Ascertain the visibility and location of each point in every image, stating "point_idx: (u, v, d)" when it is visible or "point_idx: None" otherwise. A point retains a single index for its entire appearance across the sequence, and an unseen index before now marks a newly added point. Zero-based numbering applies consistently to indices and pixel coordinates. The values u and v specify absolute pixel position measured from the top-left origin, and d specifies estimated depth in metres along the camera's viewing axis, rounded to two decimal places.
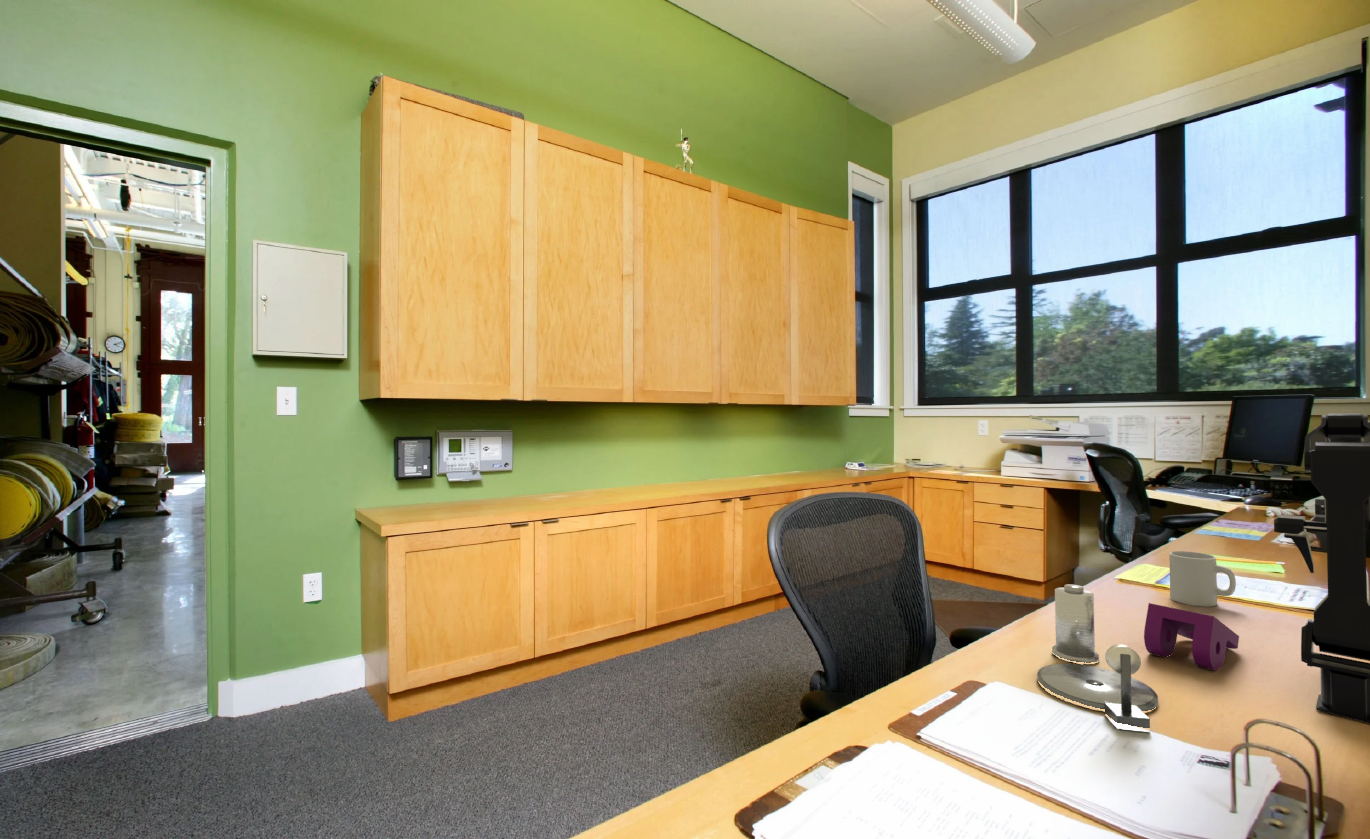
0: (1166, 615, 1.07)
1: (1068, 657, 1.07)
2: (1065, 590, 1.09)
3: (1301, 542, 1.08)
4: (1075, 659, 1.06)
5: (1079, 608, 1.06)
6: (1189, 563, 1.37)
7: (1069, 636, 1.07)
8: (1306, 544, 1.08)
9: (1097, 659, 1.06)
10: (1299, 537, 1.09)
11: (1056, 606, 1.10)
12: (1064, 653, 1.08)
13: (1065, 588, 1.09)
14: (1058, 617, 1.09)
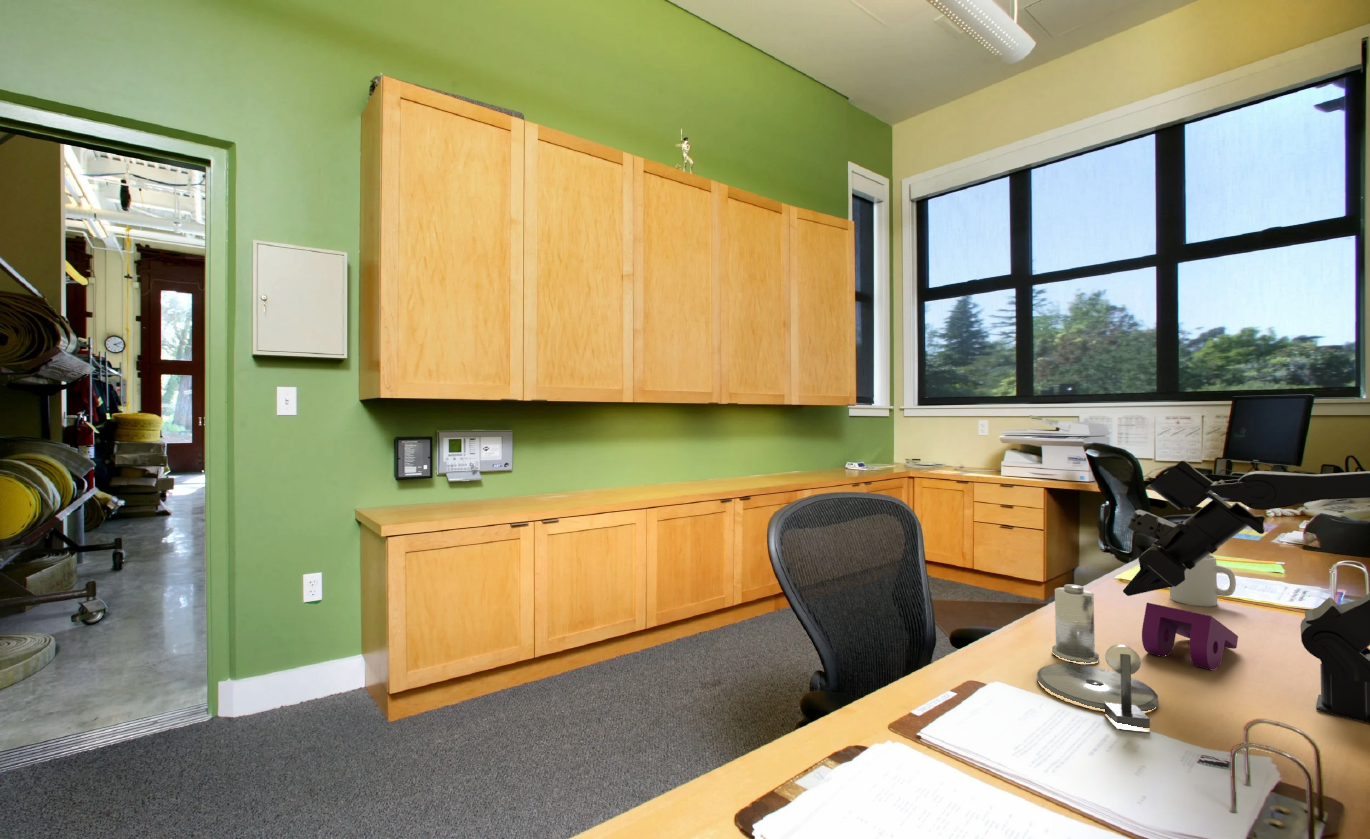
0: (1164, 614, 1.07)
1: (1068, 657, 1.07)
2: (1065, 590, 1.09)
3: None
4: (1075, 659, 1.06)
5: (1079, 608, 1.06)
6: None
7: (1069, 636, 1.07)
8: None
9: (1097, 659, 1.06)
10: None
11: (1056, 606, 1.10)
12: (1064, 653, 1.08)
13: (1065, 588, 1.09)
14: (1058, 617, 1.09)
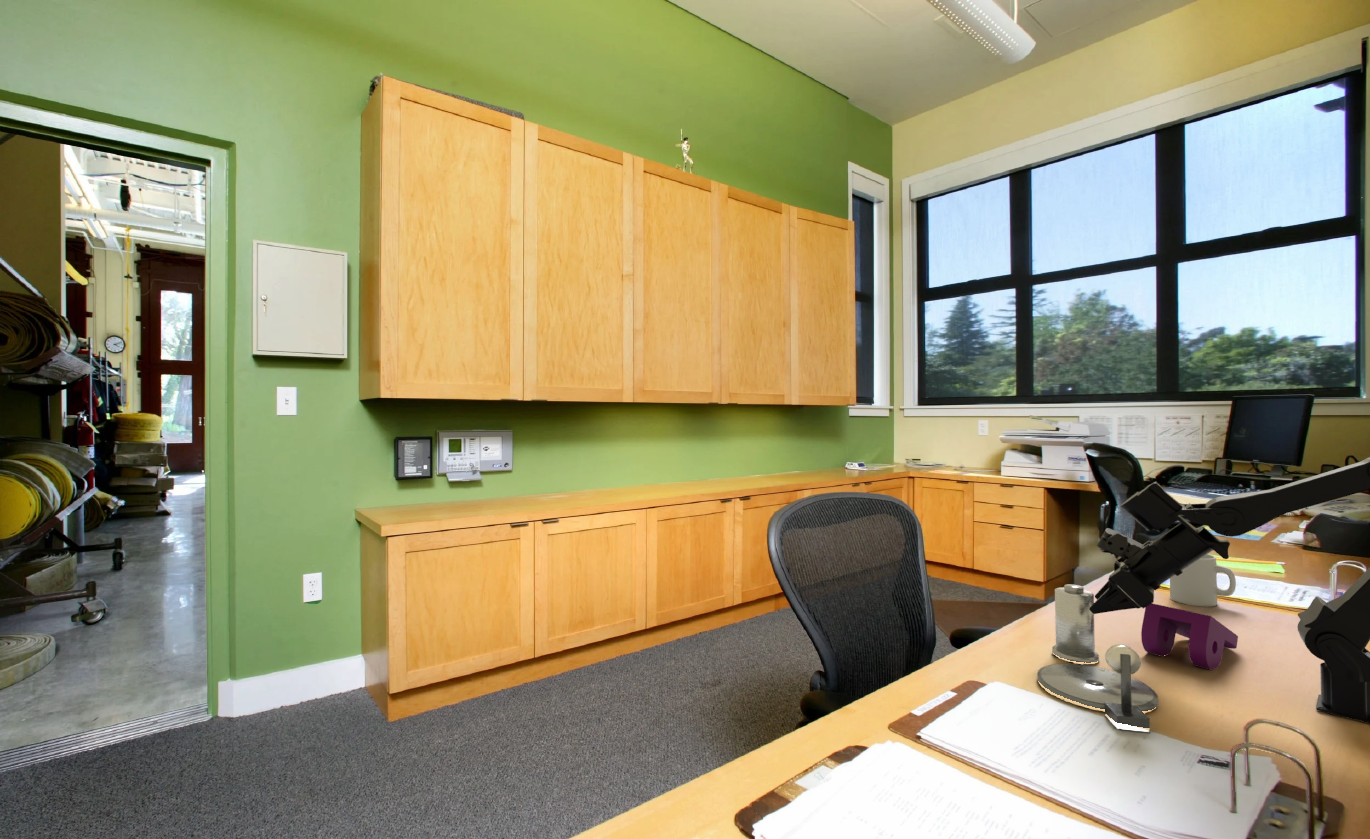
0: (1164, 614, 1.08)
1: (1068, 657, 1.07)
2: (1065, 590, 1.09)
3: None
4: (1075, 659, 1.06)
5: (1079, 608, 1.06)
6: None
7: (1069, 636, 1.07)
8: None
9: (1097, 659, 1.06)
10: None
11: (1056, 606, 1.10)
12: (1064, 653, 1.08)
13: (1065, 588, 1.09)
14: (1058, 617, 1.09)
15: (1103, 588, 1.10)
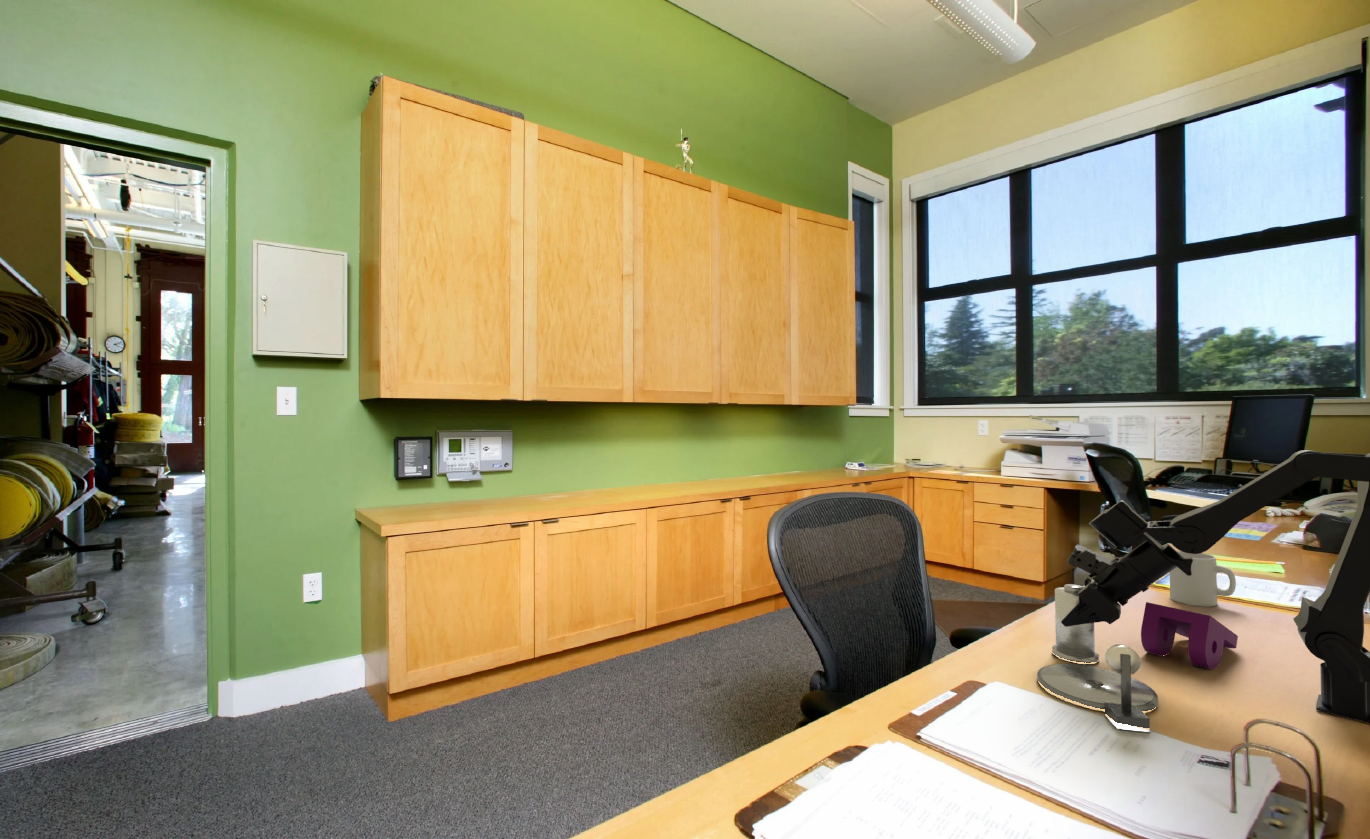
0: (1163, 614, 1.08)
1: (1068, 657, 1.07)
2: (1065, 590, 1.09)
3: None
4: (1075, 659, 1.06)
5: None
6: None
7: (1069, 636, 1.07)
8: None
9: (1097, 659, 1.06)
10: None
11: (1056, 606, 1.10)
12: (1064, 653, 1.08)
13: (1065, 588, 1.09)
14: (1058, 617, 1.09)
15: None
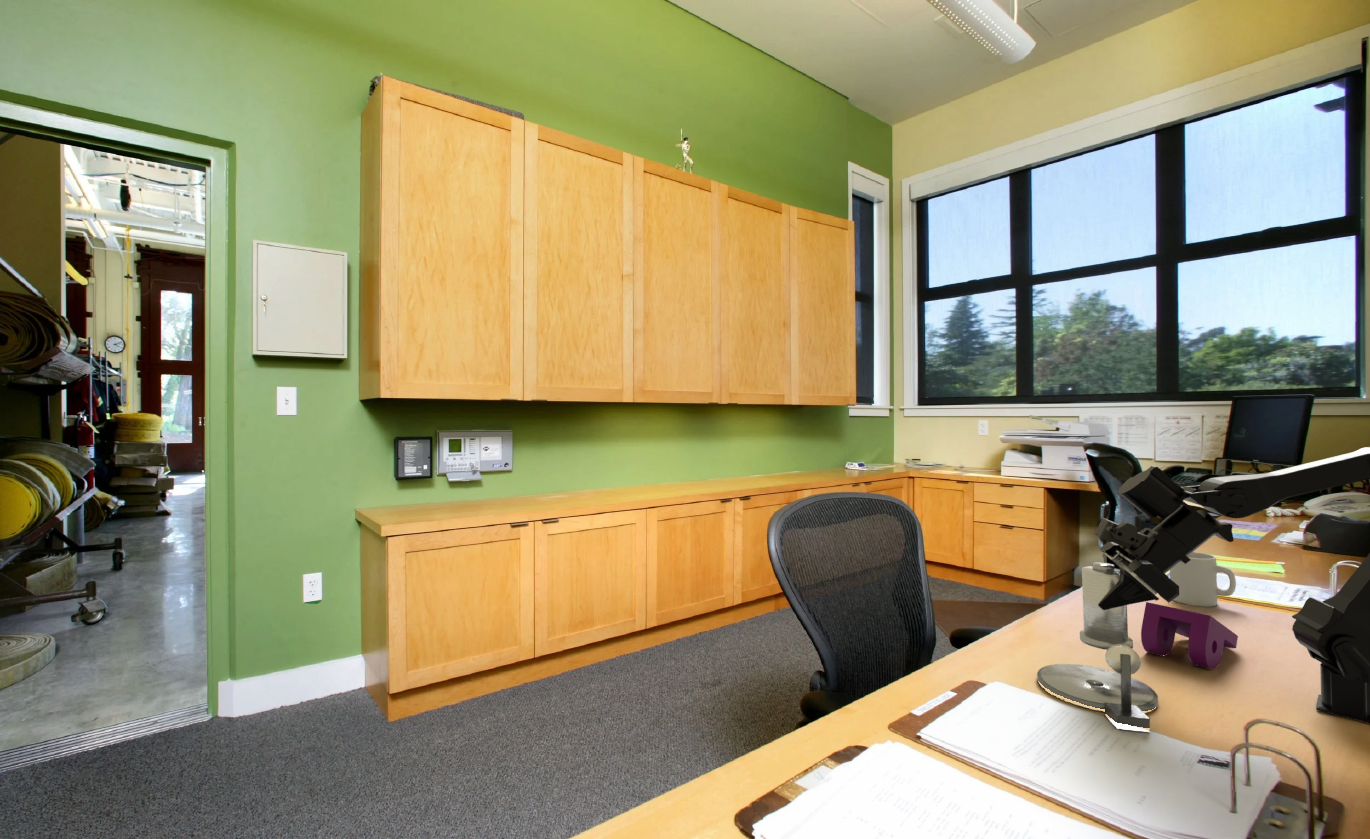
0: (1163, 613, 1.08)
1: (1107, 644, 0.95)
2: (1096, 569, 0.98)
3: None
4: None
5: None
6: (1189, 563, 1.37)
7: (1107, 620, 0.96)
8: None
9: (1132, 642, 0.96)
10: None
11: (1087, 588, 0.98)
12: (1100, 640, 0.97)
13: (1096, 567, 0.98)
14: (1090, 600, 0.98)
15: None
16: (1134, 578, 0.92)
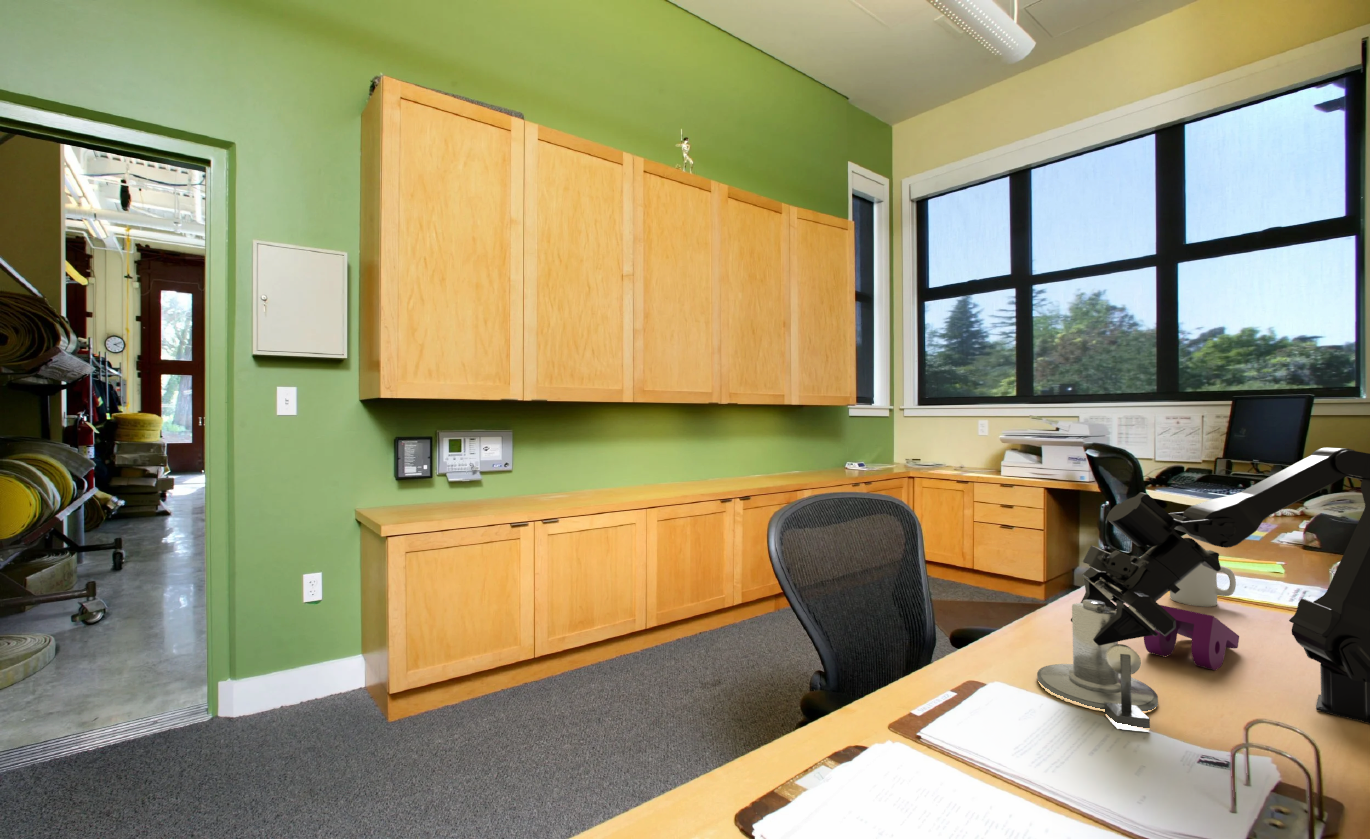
0: None
1: (1101, 686, 0.92)
2: (1087, 608, 0.95)
3: None
4: (1108, 687, 0.92)
5: None
6: None
7: (1100, 661, 0.93)
8: None
9: None
10: None
11: (1079, 627, 0.95)
12: (1093, 681, 0.93)
13: (1087, 605, 0.95)
14: (1082, 640, 0.94)
15: None
16: (1134, 613, 0.87)
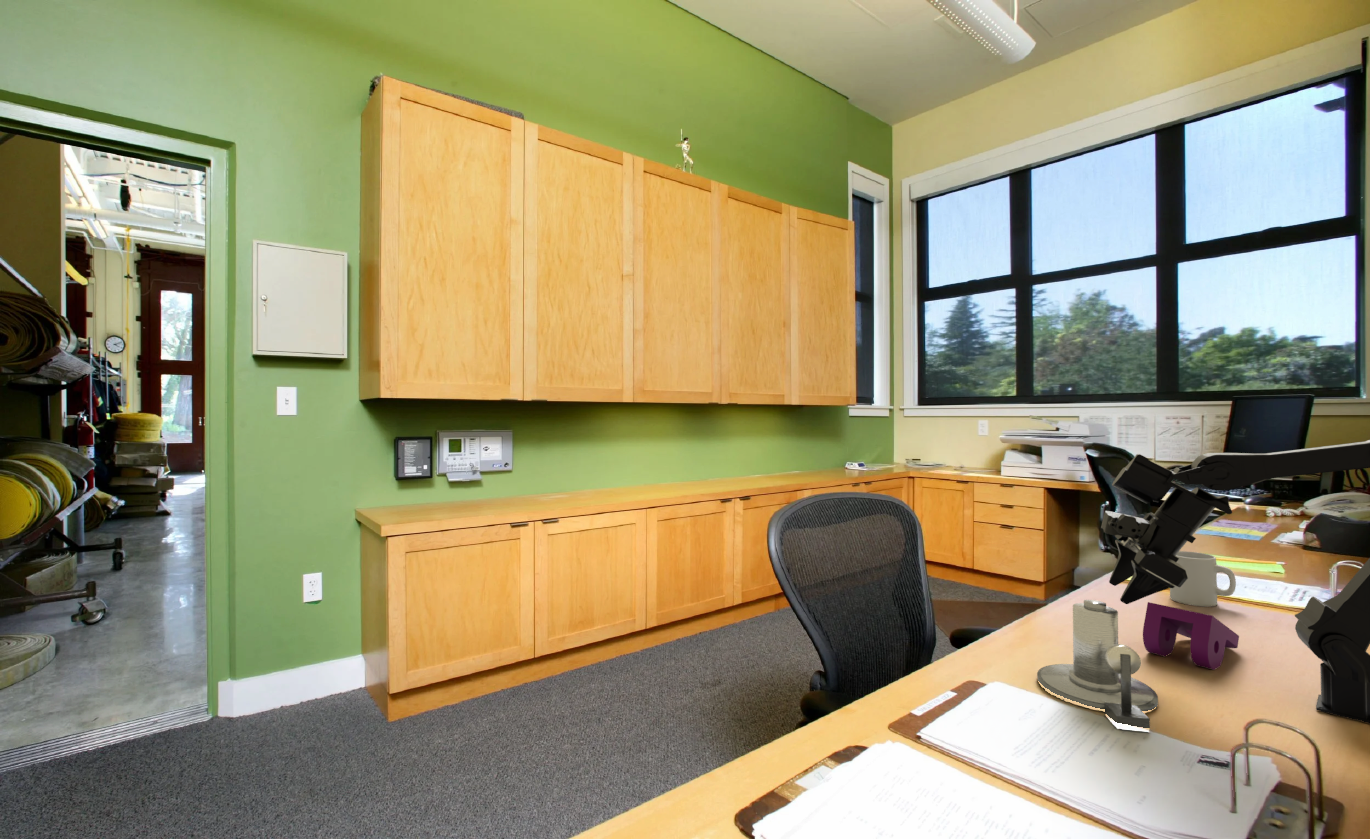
0: (1165, 614, 1.08)
1: (1101, 686, 0.92)
2: (1088, 608, 0.95)
3: None
4: (1108, 688, 0.92)
5: (1110, 628, 0.93)
6: (1189, 563, 1.37)
7: (1100, 662, 0.93)
8: None
9: None
10: None
11: (1080, 627, 0.95)
12: (1093, 681, 0.93)
13: (1088, 605, 0.95)
14: (1083, 640, 0.94)
15: (1115, 572, 1.06)
16: (1145, 571, 0.94)
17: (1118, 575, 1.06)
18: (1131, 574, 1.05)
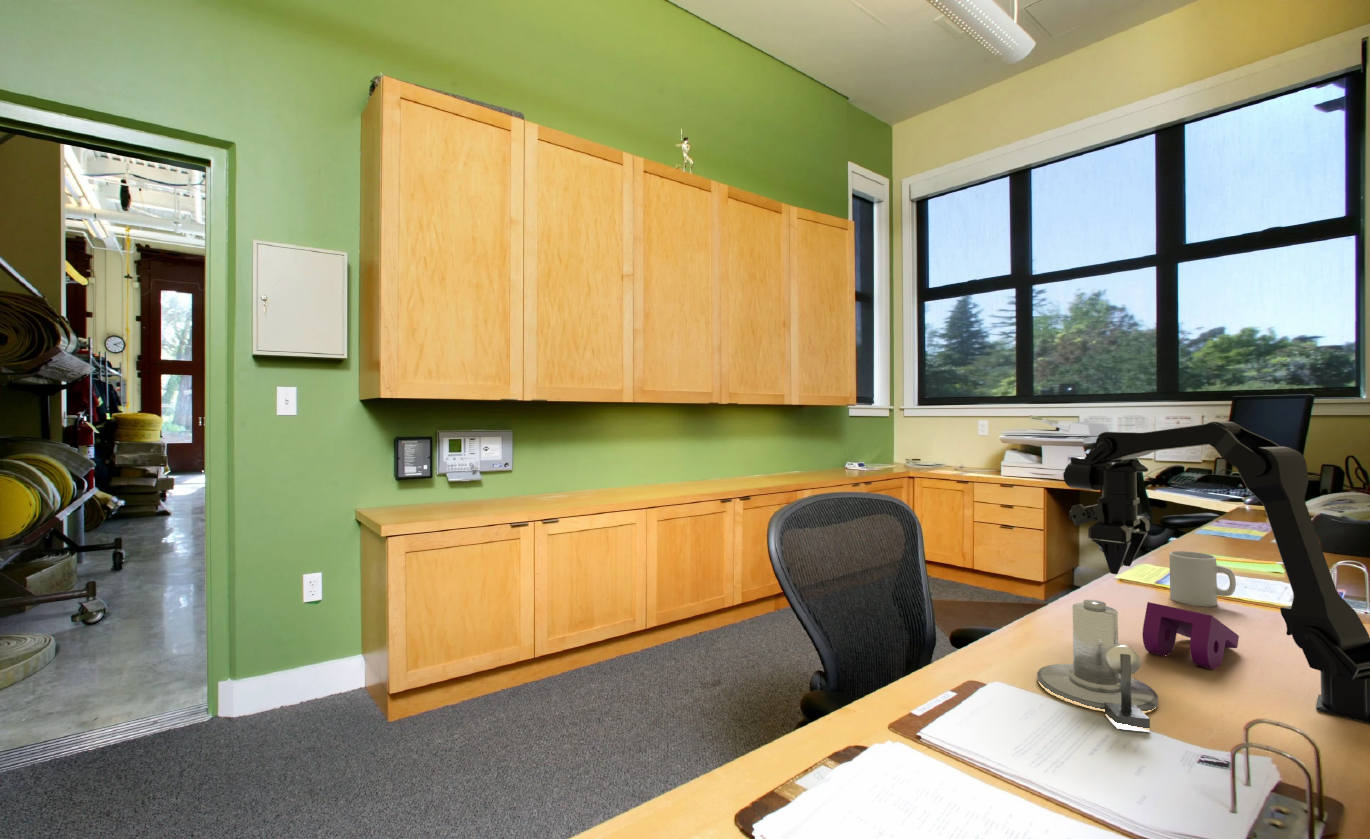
0: (1165, 613, 1.08)
1: (1101, 686, 0.92)
2: (1088, 608, 0.95)
3: (1128, 546, 1.14)
4: (1108, 688, 0.92)
5: (1110, 628, 0.93)
6: (1189, 563, 1.37)
7: (1100, 662, 0.93)
8: (1128, 548, 1.15)
9: None
10: (1129, 542, 1.14)
11: (1080, 628, 0.95)
12: (1093, 682, 0.93)
13: (1088, 606, 0.95)
14: (1083, 641, 0.94)
15: None
16: (1099, 540, 1.16)
17: (1126, 556, 1.23)
18: (1134, 551, 1.22)
